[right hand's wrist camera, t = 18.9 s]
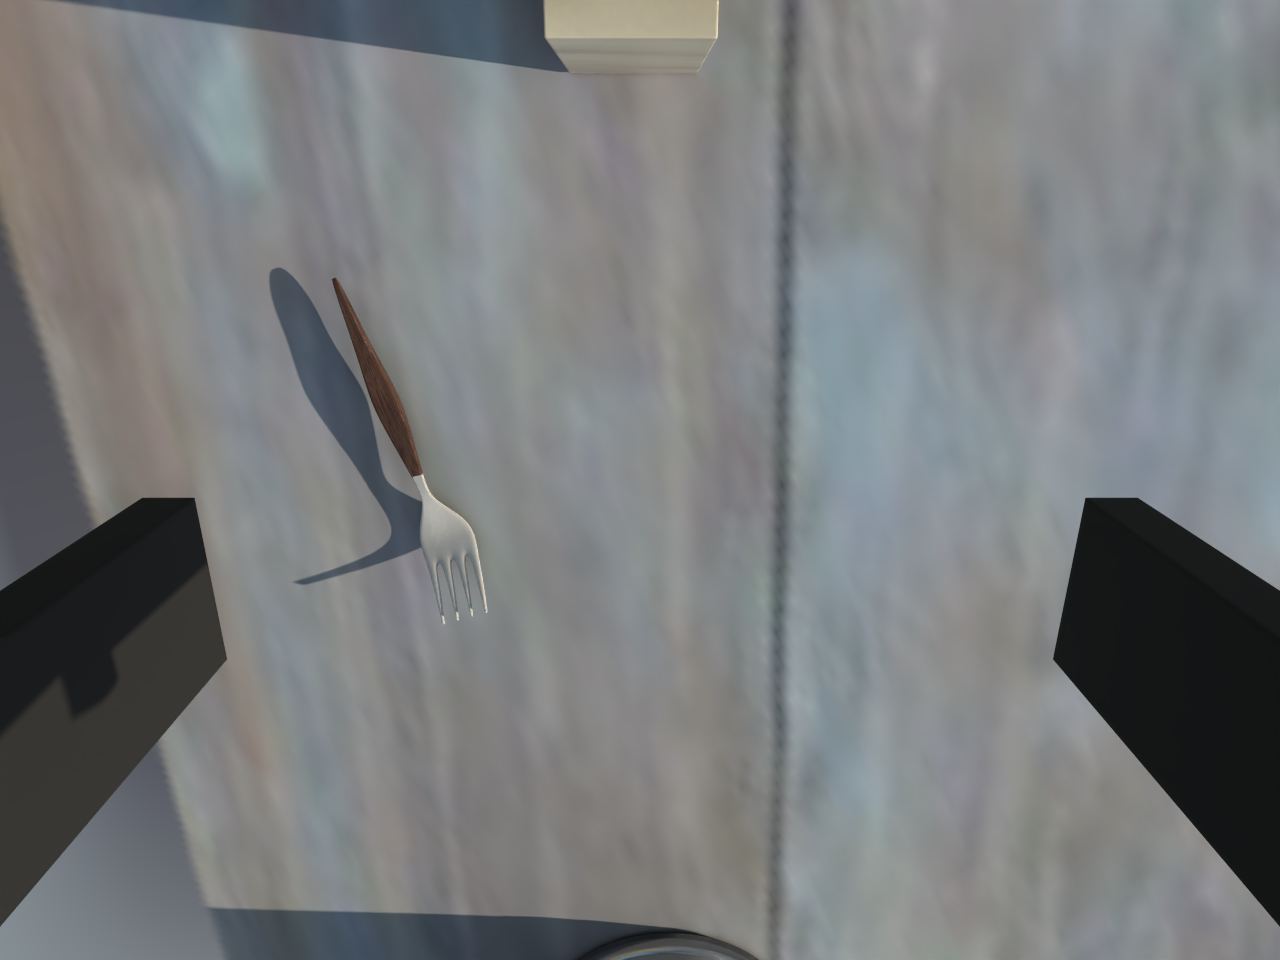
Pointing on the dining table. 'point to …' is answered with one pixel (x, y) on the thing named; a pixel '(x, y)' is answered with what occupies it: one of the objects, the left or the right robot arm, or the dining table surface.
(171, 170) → the dining table surface
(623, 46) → the birch rail
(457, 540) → the fork
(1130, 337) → the dining table surface
